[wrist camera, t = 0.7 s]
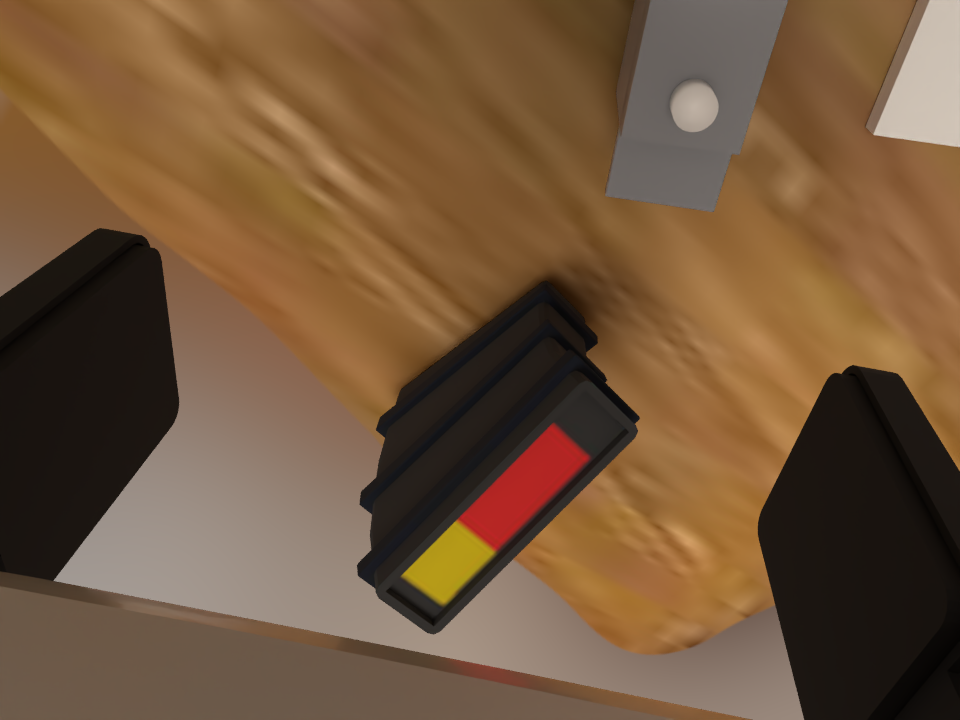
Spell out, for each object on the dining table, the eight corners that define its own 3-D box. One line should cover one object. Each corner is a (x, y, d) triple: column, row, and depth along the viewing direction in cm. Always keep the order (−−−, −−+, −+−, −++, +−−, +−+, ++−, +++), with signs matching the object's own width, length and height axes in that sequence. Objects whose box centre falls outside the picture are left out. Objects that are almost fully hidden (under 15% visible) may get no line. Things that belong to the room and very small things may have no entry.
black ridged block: (347, 433, 40) (358, 594, 26) (516, 258, 39) (623, 325, 25) (398, 473, 41) (434, 648, 27) (563, 305, 40) (689, 395, 26)
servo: (668, -166, 25) (692, -173, 19) (787, -151, 24) (847, -154, 19) (603, 151, 31) (606, 217, 25) (697, 165, 31) (721, 235, 25)
